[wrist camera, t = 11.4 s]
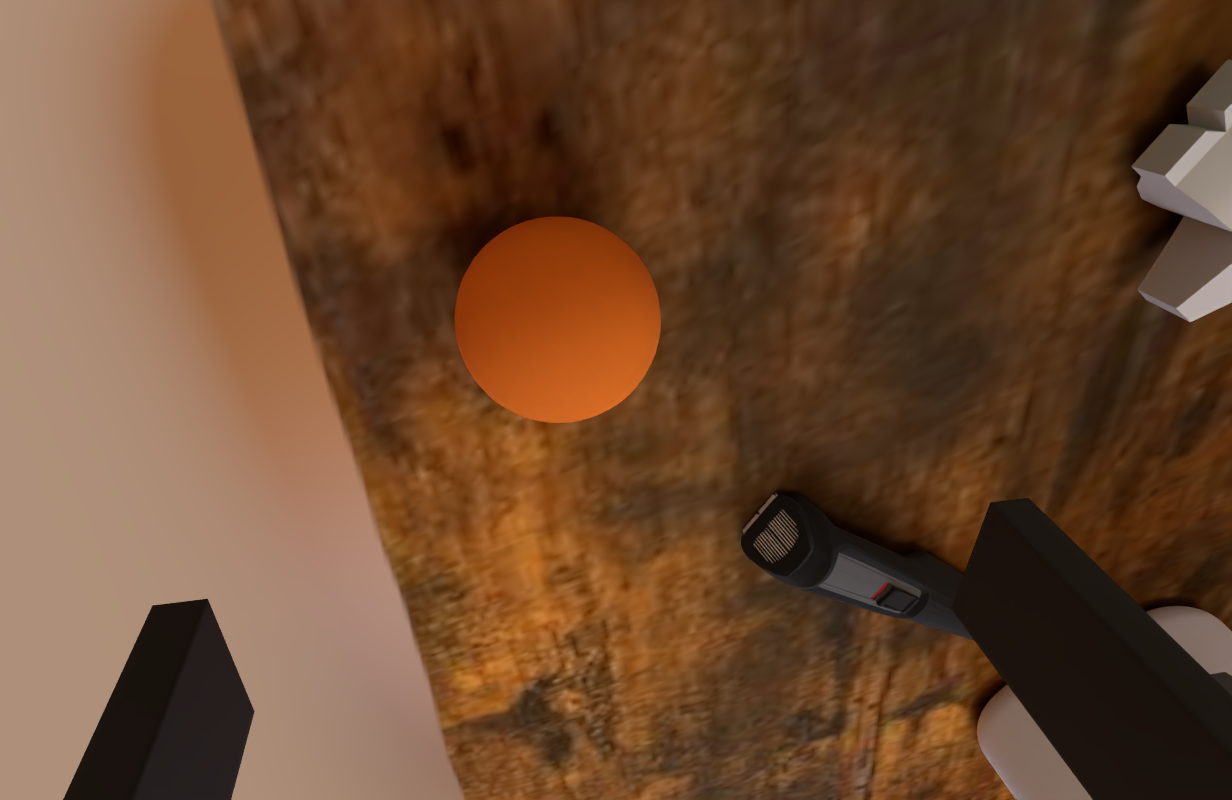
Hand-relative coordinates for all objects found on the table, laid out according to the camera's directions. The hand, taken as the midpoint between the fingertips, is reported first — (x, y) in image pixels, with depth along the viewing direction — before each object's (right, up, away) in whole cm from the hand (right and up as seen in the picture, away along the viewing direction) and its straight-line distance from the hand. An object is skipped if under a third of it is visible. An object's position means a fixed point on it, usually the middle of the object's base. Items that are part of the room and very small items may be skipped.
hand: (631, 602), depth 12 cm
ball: (-2, +6, +9) cm, 11 cm away
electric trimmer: (+12, -4, +22) cm, 25 cm away
